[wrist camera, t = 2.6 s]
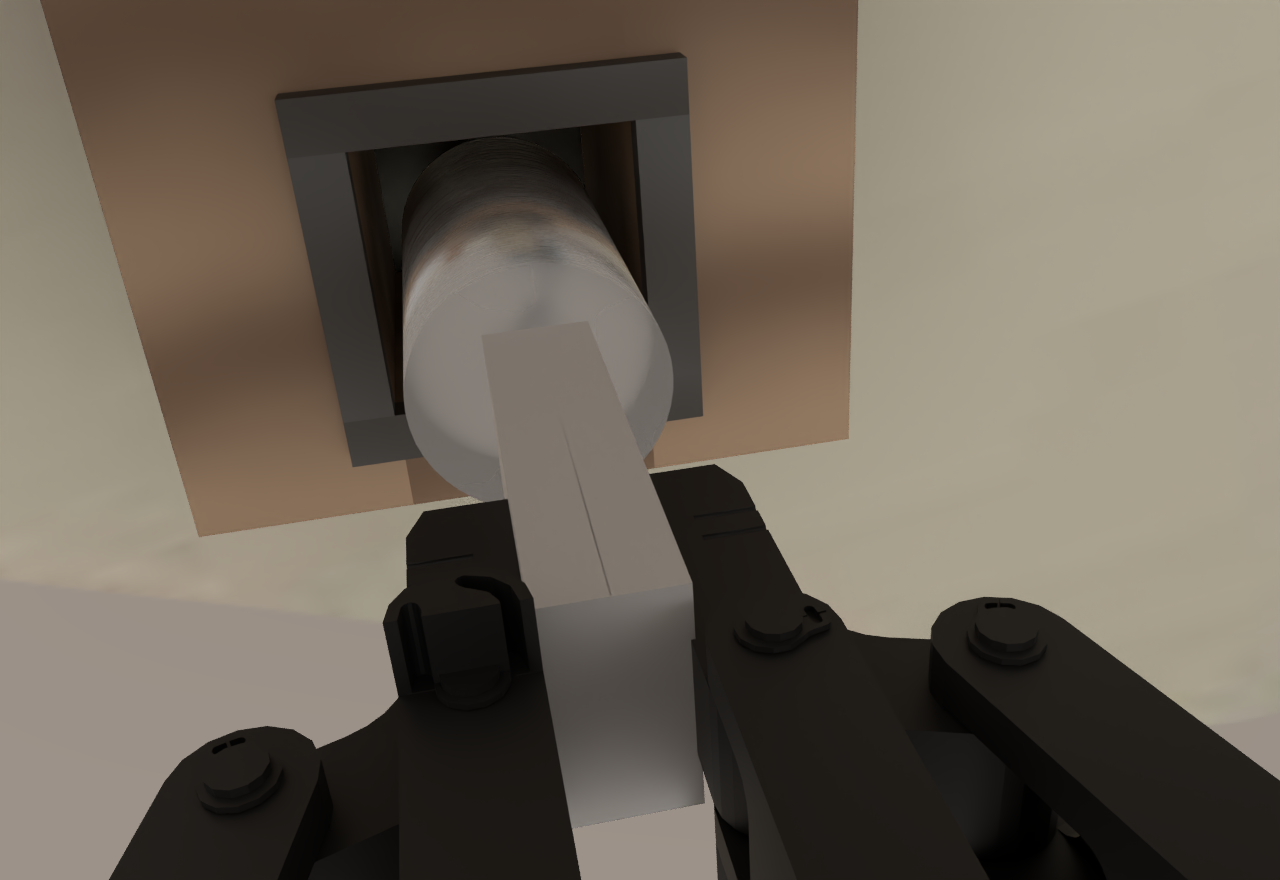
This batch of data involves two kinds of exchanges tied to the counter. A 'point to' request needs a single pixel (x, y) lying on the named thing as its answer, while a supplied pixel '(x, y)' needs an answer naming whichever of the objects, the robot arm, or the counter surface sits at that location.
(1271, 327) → the counter surface
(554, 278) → the metal peg
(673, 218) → the walnut block
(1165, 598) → the counter surface
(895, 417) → the counter surface
